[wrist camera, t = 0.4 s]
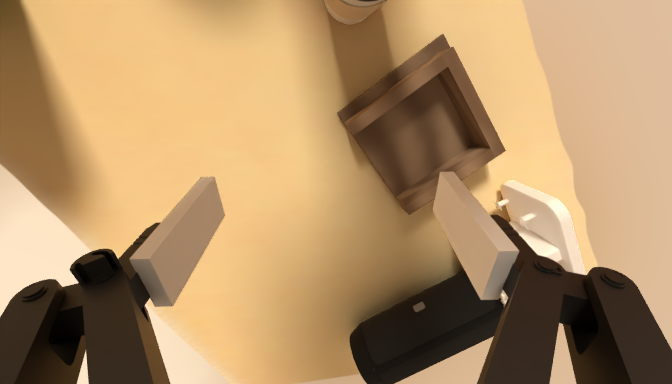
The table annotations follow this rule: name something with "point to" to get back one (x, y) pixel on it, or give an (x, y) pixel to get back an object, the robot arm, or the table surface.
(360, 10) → the coffee cup
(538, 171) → the table surface
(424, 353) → the portable speaker
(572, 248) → the cable organizer
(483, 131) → the brown wooden tray
